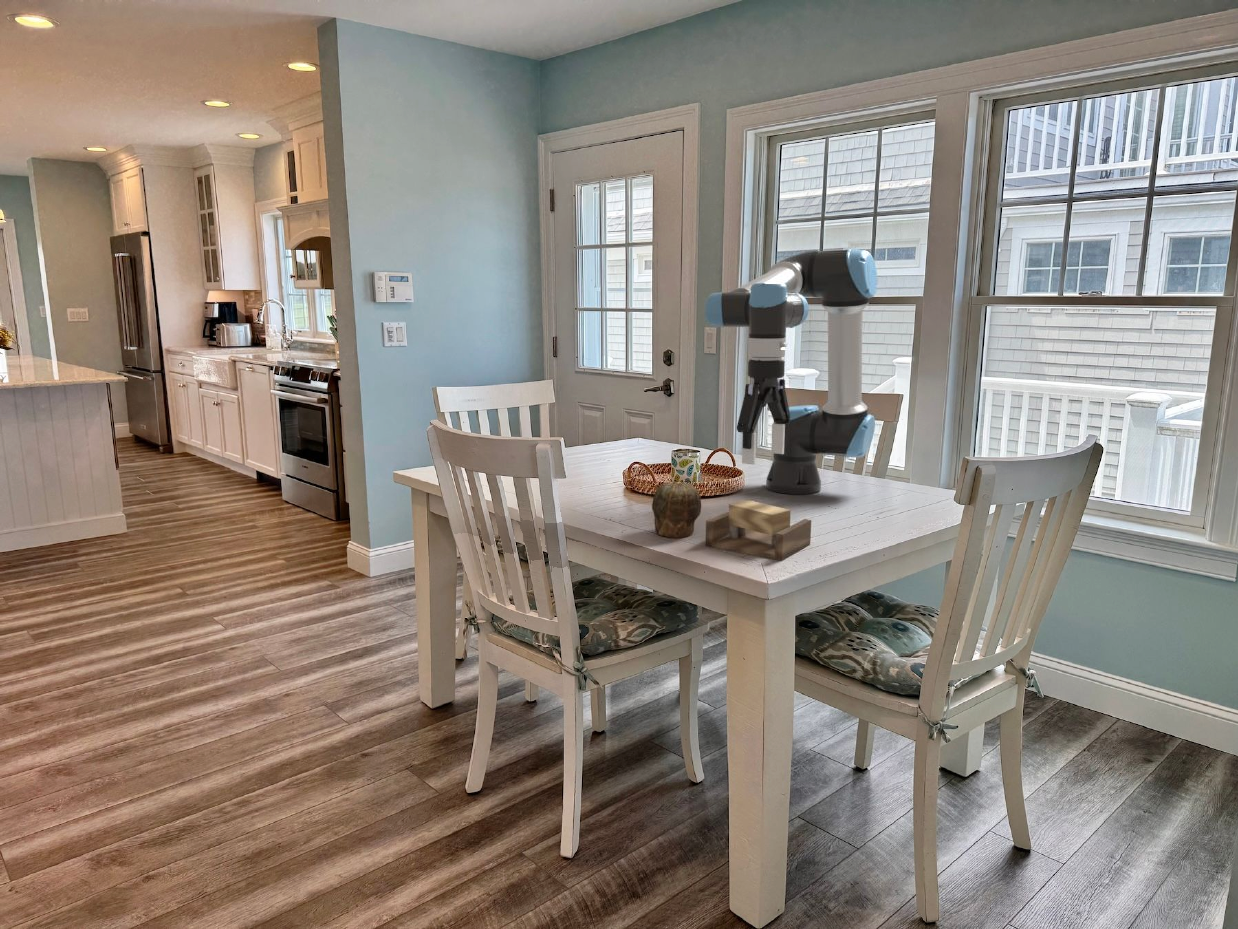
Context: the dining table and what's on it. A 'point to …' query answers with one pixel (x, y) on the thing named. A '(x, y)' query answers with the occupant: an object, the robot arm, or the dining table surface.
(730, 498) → the dining table surface
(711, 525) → the peg frame
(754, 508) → the light wooden block
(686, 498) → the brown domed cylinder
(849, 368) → the robot arm
